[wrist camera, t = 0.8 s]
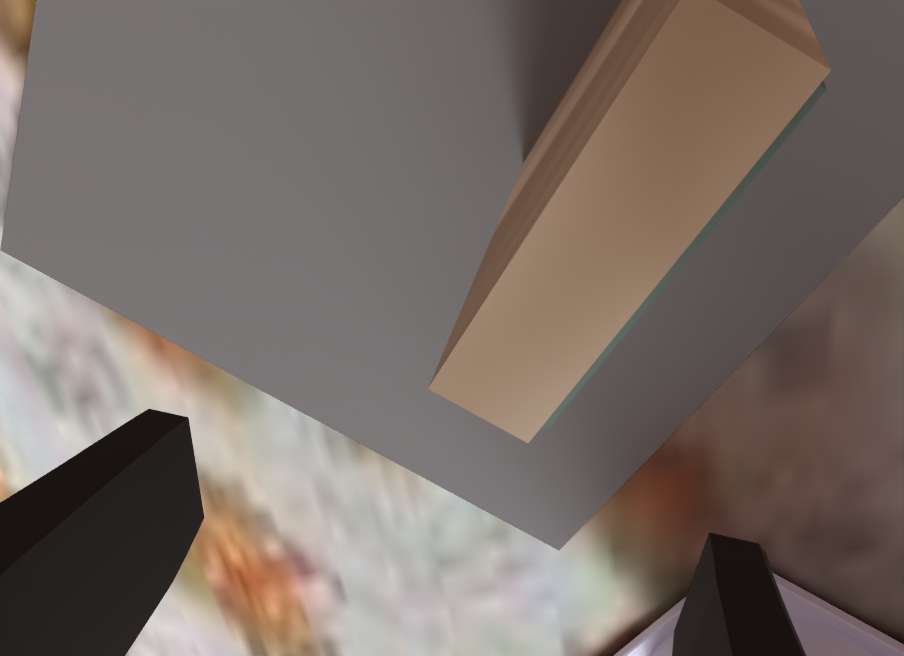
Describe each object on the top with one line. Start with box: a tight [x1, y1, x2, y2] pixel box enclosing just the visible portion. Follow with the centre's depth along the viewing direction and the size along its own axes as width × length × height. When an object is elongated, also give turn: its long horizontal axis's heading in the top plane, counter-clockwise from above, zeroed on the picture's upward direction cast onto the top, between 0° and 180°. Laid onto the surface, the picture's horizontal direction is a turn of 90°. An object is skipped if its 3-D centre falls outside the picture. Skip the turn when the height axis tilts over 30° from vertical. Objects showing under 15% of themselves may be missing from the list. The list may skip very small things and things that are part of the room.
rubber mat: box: [1, 0, 904, 550], centre depth 17 cm, size 18×22×1 cm
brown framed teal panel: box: [428, 0, 831, 443], centre depth 13 cm, size 2×6×8 cm, turn 154°
